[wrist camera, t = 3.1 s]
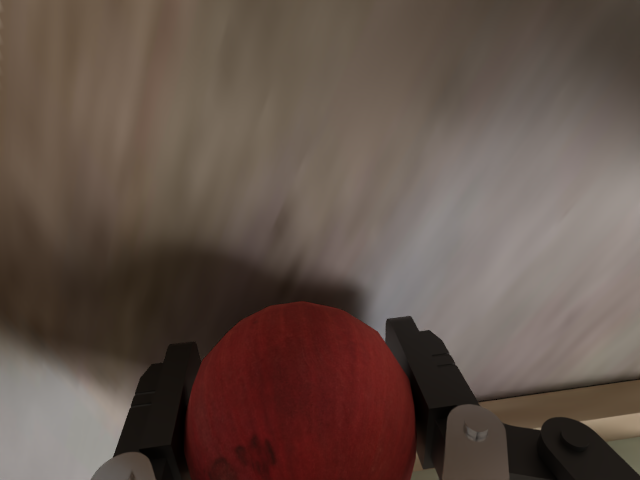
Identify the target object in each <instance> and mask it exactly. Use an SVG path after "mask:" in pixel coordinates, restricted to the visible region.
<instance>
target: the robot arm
mask: <svg viewBox="0 0 640 480" xmlns="http://www.w3.org/2000/svg"><path fill="white" fill-rule="evenodd" d="M385 343H386V344H387V346H388V347H389V349H390V350H391V352H392V353H393V355H394V357H395V358H396V360H397V361H398V363H399V364H400V366H401V367H402V369H403V371H404V372H405V374H406V375H407V377H408V378H409V381H410V386H411V391H412V396H413V401H414V408H415V419H416V430H417V445H416V452H417V455H418V457H419V460H420V463H421V466H422V468H423V469H430V468H435V470H436V472H437V475H438V477H439V480H640V475H639V474H638V473H637V472H636V471H635V470H634V469H633V468H632V467H631V466H630V465H629V464H628V463H627V462H626V461H625V460H624V459H623V458H622V457H621V456H619V455H618V454H617V453H616V452H615V451H614V450H613V449H612V448H611V447H610V446H609V445H608V444H607V443H606V442H605V441H604V440H603V439H602V438H601V437H600V436H599V435H598V434H597V433H596V432H595V431H594V430H593V429H591V428H590V427H588V426H587V425H585V424H583V423H582V422H579V421H577V420H574V419H571V418H567V417H554V418H550V419H548V420H546V421H545V422H544V423H543V425H542V427H541V430H538V429H531V428H524V427H517V426H512V425H508V424H505V423H502V422H501V420H500V419H499V418H498V417H497V416H496V415H495V414H494V413H492V412H491V411H490V410H488V409H486V408H483V407H481V406H480V405H479V403H478V401H477V400H476V398H475V396H474V395H473V393H472V391H471V389H470V388H469V386H468V384H467V382H466V381H465V379H464V377H463V376H462V374H461V372H460V370H459V369H458V367H457V366H456V365H455V362H454V360H453V358H452V357H451V355H449V352H448V350H447V348H446V346H445V345H444V343H443V341H442V340H441V339H440V338H438V337H437V336H436V335H435V334H433V333H432V332H431V331H430V330H427V331H419V330H418V328H417V326H416V325H415V323H414V321H413V319H412V317H410V316H406V317H398V318H390V319H387V321H386V338H385ZM200 365H201V361H200V356H199V352H198V348H197V345H196V342H186V343H178V344H170V345H169V346H168V349H167V352H166V356H165V359H164V363H156V364H152V365H151V366H150V367H149V368H148V369H147V371H146V372H145V373H144V374H143V375H142V376H141V378H140V380H139V383H138V386H137V389H136V392H135V396H134V398H133V401H132V404H131V408H130V409H129V412H128V415H127V418H126V421H125V424H124V427H123V430H122V433H121V436H120V439H119V442H118V445H117V447H116V450H115V453H114V456H113V458H112V459H110V460H108V461H107V462H106V463H104V464H103V465H102V466H101V467H100V468H99V469H98V470H97V471H96V472H95V474H94V475H93V477H92V478H91V480H191V478H190V474H189V470H188V466H187V462H186V458H185V454H184V420H185V414H186V410H187V406H188V402H189V398H190V394H191V390H192V386H193V383H194V381H195V378H196V376H197V373H198V370H199V368H200Z"/></svg>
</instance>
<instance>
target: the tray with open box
mask: <svg viewBox="0 0 640 480" xmlns="http://www.w3.org/2000/svg"><path fill="white" fill-rule="evenodd" d="M479 405H480V406H481V407H483V408H486V409H488V410H490V411H491V412H492V413H494V414H495V415H496V416H497V417H498V418H499V419H500V420H501V422H502V423H505V424H508V425H512V426H517V427H524V428H531V429H538V430H541V427H542V425H543V423H544V422H545V421H546V420H548V419H550V418H554V417H567V418H571V419H574V420H577V421H579V422H582V423H583V424H585V425H587V426H588V427H590V428H591V429H593V430H594V431H595V432H596V433H597V434H598V435H599V436H600V437H601V438H602V439H603V440H604V441H605V442H606V443H607V444H608V445H609V446H610V447H611V448H612V449H613V450H614V451H615V452H616V453H617V454H618V455H619V456H621V457H622V458H623V459H624V460H625V461H626V462H627V463H628V464H629V465H630V466H631V467H632V468H633V469H634V470H635V471H636V472H637V473H638V474H639V475H640V380H634V381H627V382H620V383H612V384H605V385H598V386H591V387H584V388H577V389H570V390H563V391H556V392H549V393H542V394H535V395H528V396H521V397H514V398H507V399H500V400H493V401H486V402H479ZM410 480H439V477H438V475H437V472H436V470H435V468H430V469H423V468H422V466H421V463H420V460H419V457H418V455H417V452H416V460H415V464H414V468H413V472H412V476H411V479H410Z"/></svg>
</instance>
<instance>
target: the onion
mask: <svg viewBox="0 0 640 480" xmlns="http://www.w3.org/2000/svg"><path fill="white" fill-rule="evenodd" d="M416 445H417V430H416V419H415V408H414V401H413V396H412V391H411V386H410V381H409V378H408V377H407V375H406V374H405V372H404V371H403V369H402V367H401V366H400V364H399V363H398V361H397V360H396V358H395V357H394V355H393V353H392V352H391V350H390V349H389V347H388V346H387V344H386V343H385V341H384V340H383V339H382V337H381V336H380V334H379V333H378V331H376V330H374V329H373V328H371V327H370V326H368V325H366V324H365V323H363V322H362V321H360V320H358V319H357V318H355V317H354V316H352V315H350V314H349V313H347V312H346V311H343V310H340V309H337V308H334V307H329V306H324V305H319V304H315V303H310V302H305V301H299V302H292V303H285V304H278V305H270V306H268V307H266V308H264V309H262V310H260V311H258V312H256V313H254V314H252V315H250V316H248V317H246V318H244V319H242V320H241V321H239V322H238V323H237V324H236V325H235V326H234V327H233V328H232V329H231V330H230V331H228V332H227V333H226V335H225V336H224V337H223V338H222V339H221V340H220V341H219V342H218V343H217V345H216V346H215V347H214V348H213V349H212V350H211V351H210V352H209V353H208V355H207V356H206V357H205V358H204V359H203V360H202V363H201V365H200V368H199V370H198V373H197V376H196V378H195V381H194V383H193V386H192V390H191V394H190V398H189V402H188V406H187V410H186V414H185V420H184V454H185V458H186V462H187V466H188V470H189V474H190V478H191V480H410V479H411V476H412V472H413V468H414V464H415V460H416Z"/></svg>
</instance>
